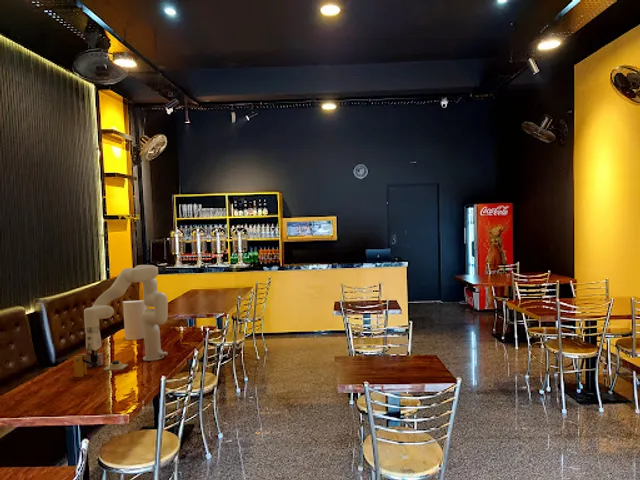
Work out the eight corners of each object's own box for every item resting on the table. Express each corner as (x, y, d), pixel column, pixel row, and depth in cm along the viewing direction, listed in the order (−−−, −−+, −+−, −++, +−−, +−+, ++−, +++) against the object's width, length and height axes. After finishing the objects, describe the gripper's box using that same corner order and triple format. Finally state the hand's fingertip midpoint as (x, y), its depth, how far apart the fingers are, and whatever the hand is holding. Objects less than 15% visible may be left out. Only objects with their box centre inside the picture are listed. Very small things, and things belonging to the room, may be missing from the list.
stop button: (119, 363, 296) (119, 360, 296) (117, 364, 292) (117, 361, 292) (113, 363, 296) (113, 360, 296) (111, 365, 292) (111, 362, 292)
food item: (105, 365, 306) (104, 349, 306) (100, 369, 298) (99, 352, 298) (82, 366, 305) (81, 350, 305) (76, 370, 297) (75, 354, 297)
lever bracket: (93, 375, 286) (91, 353, 285) (86, 379, 278) (85, 357, 277) (75, 376, 286) (73, 354, 285) (68, 380, 278) (67, 357, 277)
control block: (128, 367, 299) (127, 360, 298) (122, 372, 290) (122, 365, 289) (109, 368, 298) (109, 361, 298) (103, 373, 289) (103, 366, 289)
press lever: (97, 367, 283) (99, 362, 283) (95, 369, 280) (97, 363, 280) (77, 359, 283) (79, 354, 283) (75, 361, 280) (77, 355, 280)
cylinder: (144, 339, 373) (142, 302, 372) (121, 340, 373) (118, 303, 372) (152, 333, 390) (150, 298, 389) (130, 334, 390) (128, 299, 389)
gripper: (93, 332, 273) (95, 365, 274) (104, 326, 288) (106, 358, 289) (79, 332, 273) (81, 366, 274) (91, 327, 288) (93, 358, 289)
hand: (94, 361), depth 281 cm, fingers closed
